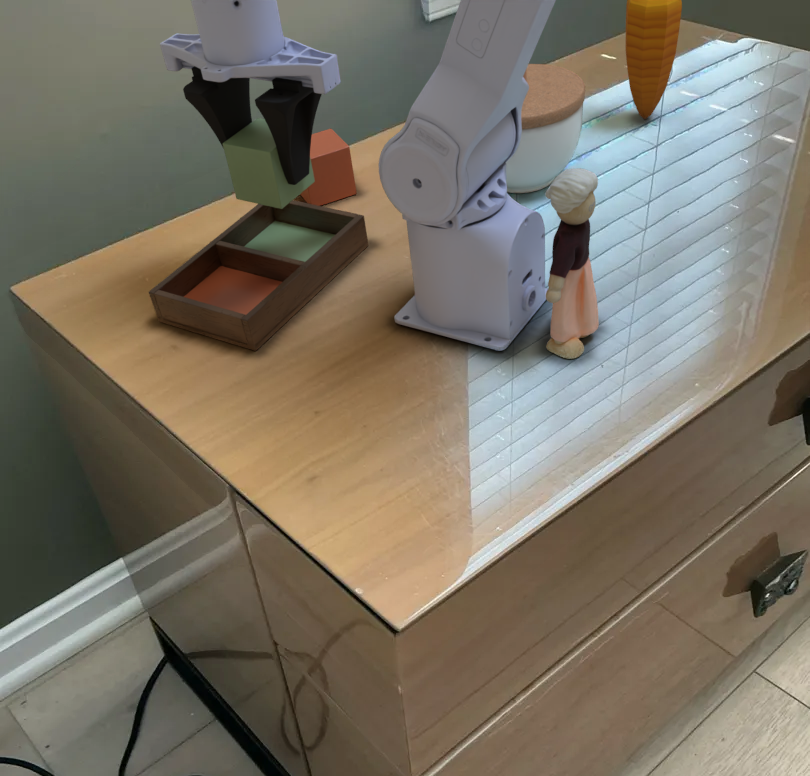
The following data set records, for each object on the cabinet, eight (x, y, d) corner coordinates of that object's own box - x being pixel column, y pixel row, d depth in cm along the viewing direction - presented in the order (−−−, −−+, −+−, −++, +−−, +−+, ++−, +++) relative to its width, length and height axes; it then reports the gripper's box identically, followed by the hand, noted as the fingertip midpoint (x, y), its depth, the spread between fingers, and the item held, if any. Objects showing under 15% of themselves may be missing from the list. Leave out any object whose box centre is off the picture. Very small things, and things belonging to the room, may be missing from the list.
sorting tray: (368, 245, 81) (364, 215, 79) (255, 351, 72) (247, 320, 70) (275, 223, 85) (269, 194, 83) (158, 321, 76) (147, 291, 74)
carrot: (609, 114, 92) (618, -61, 81) (656, 102, 93) (671, -73, 82) (633, 135, 89) (645, -45, 78) (681, 122, 89) (700, -58, 78)
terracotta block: (339, 174, 90) (331, 127, 87) (357, 194, 87) (349, 146, 84) (294, 188, 89) (285, 142, 86) (311, 208, 86) (302, 161, 83)
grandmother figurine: (594, 368, 66) (602, 199, 57) (539, 366, 67) (538, 199, 58) (601, 305, 71) (610, 140, 62) (550, 304, 72) (551, 140, 63)
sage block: (315, 181, 75) (304, 125, 71) (282, 209, 72) (269, 152, 69) (270, 172, 77) (257, 117, 73) (236, 199, 74) (221, 143, 71)
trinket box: (523, 219, 81) (521, 109, 74) (439, 182, 87) (429, 76, 80) (607, 170, 85) (613, 61, 78) (521, 137, 91) (519, 34, 84)
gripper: (110, -8, 64) (168, 181, 74) (280, 11, 58) (319, 214, 68) (177, -44, 68) (224, 141, 78) (343, -29, 62) (371, 169, 72)
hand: (272, 173), depth 74 cm, fingers closed on sage block, 4 cm apart
